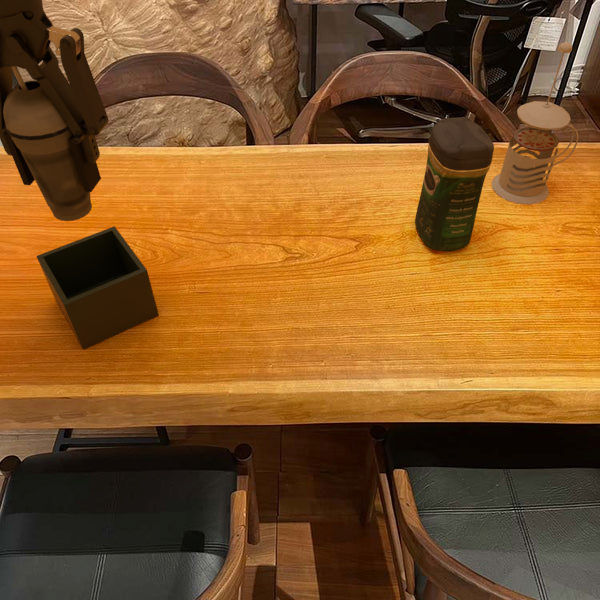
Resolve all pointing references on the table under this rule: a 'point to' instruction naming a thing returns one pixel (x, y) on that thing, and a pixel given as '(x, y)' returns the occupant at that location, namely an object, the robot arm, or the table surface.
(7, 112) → the beverage cup
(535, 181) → the french press
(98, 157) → the robot arm
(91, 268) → the bin
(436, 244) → the coffee jar
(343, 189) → the table surface
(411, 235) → the table surface
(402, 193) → the table surface
